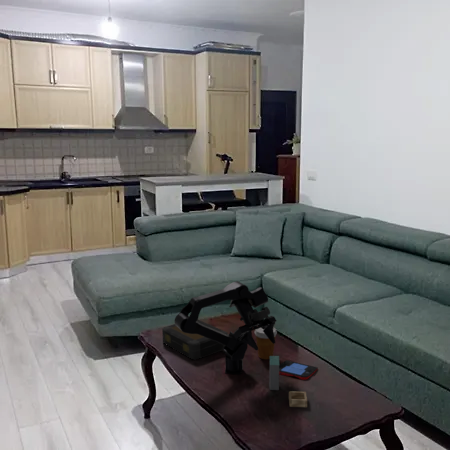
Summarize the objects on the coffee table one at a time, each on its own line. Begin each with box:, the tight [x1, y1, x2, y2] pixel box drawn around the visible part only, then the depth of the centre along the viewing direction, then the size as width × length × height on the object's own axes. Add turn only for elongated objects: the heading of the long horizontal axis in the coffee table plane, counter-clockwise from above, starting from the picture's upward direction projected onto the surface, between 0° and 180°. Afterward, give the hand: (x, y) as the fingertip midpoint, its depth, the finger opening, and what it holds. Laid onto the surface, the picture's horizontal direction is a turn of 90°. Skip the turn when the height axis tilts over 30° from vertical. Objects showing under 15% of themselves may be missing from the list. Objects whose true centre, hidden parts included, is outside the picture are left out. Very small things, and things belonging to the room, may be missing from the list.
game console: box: [279, 359, 319, 381], centre depth 199 cm, size 14×13×2 cm
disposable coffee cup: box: [254, 326, 278, 360], centre depth 212 cm, size 10×10×12 cm
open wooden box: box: [288, 390, 308, 408], centre depth 175 cm, size 6×6×3 cm
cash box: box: [161, 319, 229, 361], centre depth 224 cm, size 25×20×8 cm
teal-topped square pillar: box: [269, 355, 280, 391], centre depth 184 cm, size 3×3×12 cm
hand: (266, 346), depth 190 cm, fingers open, 9 cm apart
